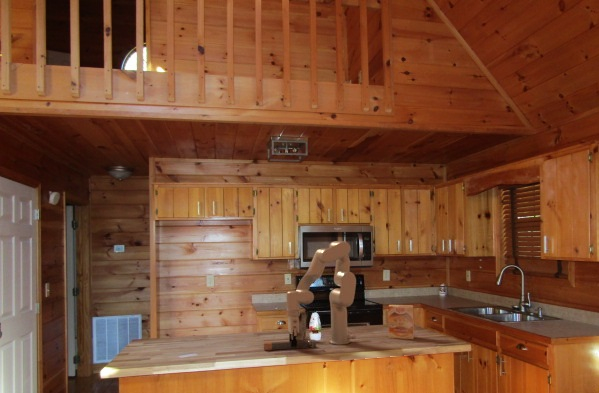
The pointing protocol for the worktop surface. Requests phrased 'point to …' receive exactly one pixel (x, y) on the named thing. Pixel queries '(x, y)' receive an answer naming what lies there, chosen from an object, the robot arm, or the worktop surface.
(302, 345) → the tongs moving arm
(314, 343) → the arm
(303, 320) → the coffee box
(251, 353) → the worktop surface
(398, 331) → the coffeecake box
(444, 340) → the worktop surface
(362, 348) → the worktop surface
